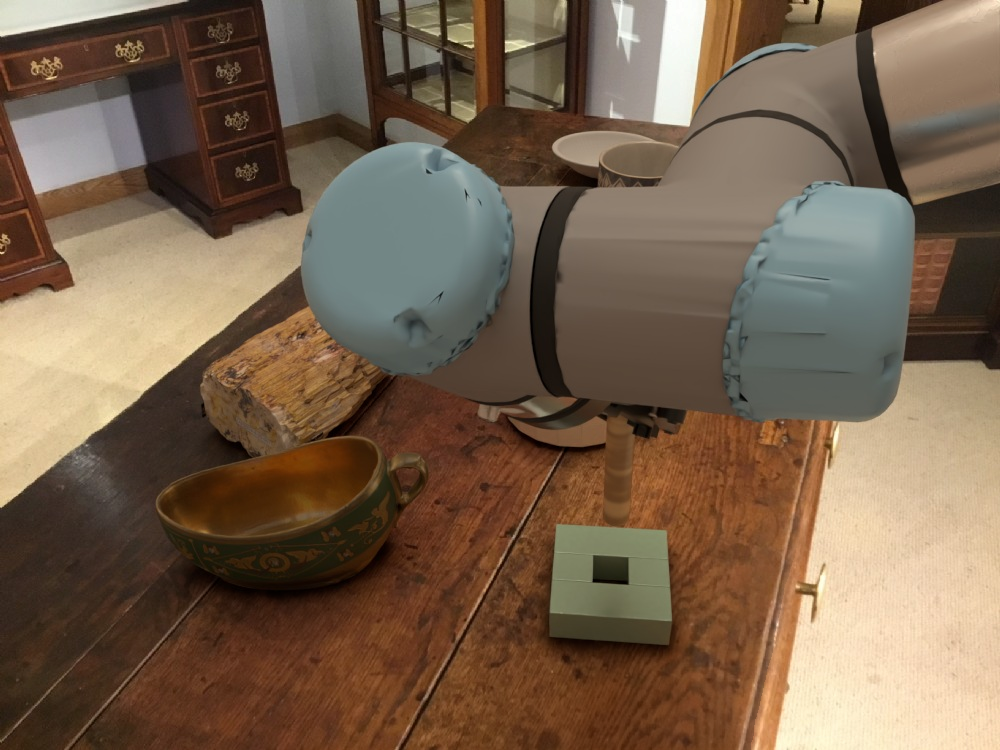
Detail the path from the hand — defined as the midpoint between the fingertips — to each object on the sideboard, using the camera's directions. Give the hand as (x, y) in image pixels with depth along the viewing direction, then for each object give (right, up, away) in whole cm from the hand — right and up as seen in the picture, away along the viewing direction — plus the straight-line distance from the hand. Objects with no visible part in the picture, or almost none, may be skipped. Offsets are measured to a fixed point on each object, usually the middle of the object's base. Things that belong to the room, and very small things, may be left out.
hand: (639, 414), depth 63 cm
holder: (-1, -15, +7) cm, 17 cm away
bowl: (-3, -1, +26) cm, 27 cm away
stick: (-2, -8, +2) cm, 8 cm away
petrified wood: (-30, -1, +28) cm, 41 cm away
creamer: (-27, -13, +11) cm, 32 cm away
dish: (+7, +34, +72) cm, 80 cm away
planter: (+10, +24, +58) cm, 64 cm away
